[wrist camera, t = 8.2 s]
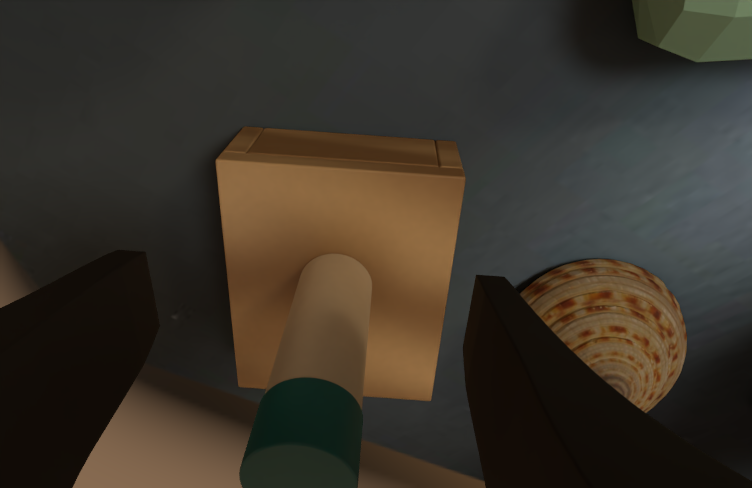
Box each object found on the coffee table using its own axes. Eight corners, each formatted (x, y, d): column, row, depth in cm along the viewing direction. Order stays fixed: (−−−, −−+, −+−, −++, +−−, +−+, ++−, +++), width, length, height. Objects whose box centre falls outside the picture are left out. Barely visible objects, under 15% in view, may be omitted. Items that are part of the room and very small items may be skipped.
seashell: (486, 448, 25) (523, 382, 18) (477, 339, 28) (507, 251, 22) (662, 456, 24) (764, 393, 18) (633, 345, 28) (709, 259, 21)
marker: (371, 316, 19) (355, 523, 13) (299, 310, 19) (243, 515, 13) (375, 254, 18) (360, 448, 11) (298, 248, 18) (234, 439, 11)
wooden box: (427, 345, 25) (431, 401, 22) (257, 332, 25) (237, 387, 22) (456, 140, 20) (466, 177, 17) (243, 125, 20) (214, 159, 17)
